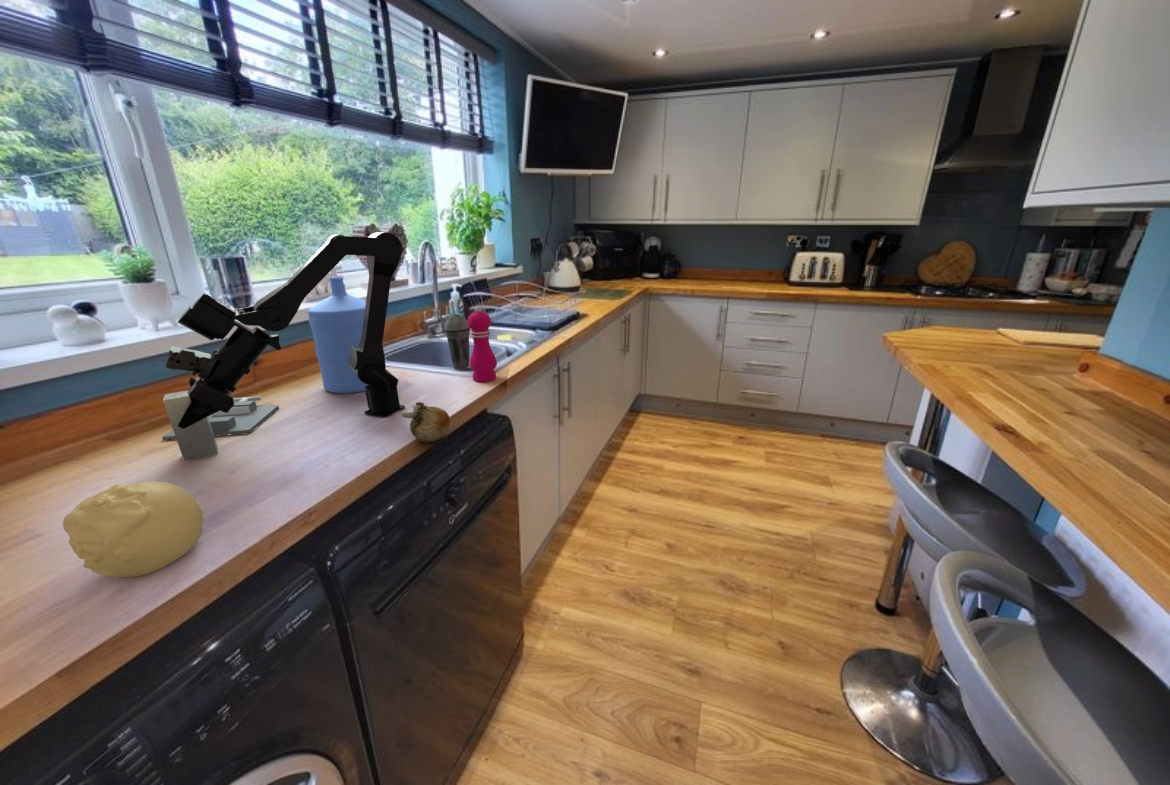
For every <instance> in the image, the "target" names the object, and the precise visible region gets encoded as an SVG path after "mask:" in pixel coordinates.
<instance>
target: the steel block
mask: <svg viewBox="0 0 1170 785" xmlns="http://www.w3.org/2000/svg"><path fill="white" fill-rule="evenodd" d="M162 401H163V402H162V403H163V405H164V407H165V410H166V413H167V417H168V418H169V422H170V425H171V428H172V430H173V431H174V434H175V437H176V439H175V440H176V443H177V445H178V448H179V451H180V454H181V456H182V457H181V458H182V459H183V462H184V461H185V462H188V460H189V461H193V460H197V459H201V458H205V456H206V457H210V456H214V455H217V454H219V448H218V447H217V446H218V443H217V440H216V436H214V433H213V430H212V427H211V424H210V421H209V418H208V417H206V418H204V419H202V420H200V421H198V422H196V423H195V424H193V425H191V426H189V427H187V428H185V429H182V428H180V427H178V424H179V422H180V420H181V418H182V416H183V414H184V413H185V411H186V409H187V407H188V405H189V403H190V401H191V400H190V397H189V395H188V390H183V391H176V392H171V393H165V394H164V395H163V399H162ZM213 454H214V455H213ZM209 455H210V456H209Z"/></svg>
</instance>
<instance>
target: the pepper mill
mask: <svg viewBox="0 0 1170 785" xmlns="http://www.w3.org/2000/svg"><path fill="white" fill-rule="evenodd" d="M482 310H483V309H482V307H481V306H480V305H476V306H475V307H474V312H472V313H470V314H469V316H468V317H467V321H468V326H469V327H470V336H471V337H472V340H473V345H472V346H473V347H472V348H473V349H472V352H471V355H470V356H469V368H470V369H471V370H472V371H473V373H472V380H473V381H474V382H475V381H476V383H489V382H492V381H495V380H496V379H497V372H496V371H495V369H496V367H497V365H498V362H497V358H496V355H495V353H494V352H493V350H492V347H491V344H490V340H489V339H490V336H491V333H490V332H491V330H490V327H491V325H492V320H491V316H490V315H489V314H488V313H487V312H484V311H482Z"/></svg>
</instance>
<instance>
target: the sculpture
mask: <svg viewBox="0 0 1170 785" xmlns="http://www.w3.org/2000/svg"><path fill="white" fill-rule="evenodd" d="M201 509H202V508H201V507H200V504H199V503H198V501H197V500H196V498H195V497H193V495H191V493H190V492H189V491H187V490H186V489H184V488H182V487H181V486H178V485H177V484H174V483H173V484H172V483H169V482H164V481H143V482H136V483H132V484H120V483H116V484H113V485H112V486H110V487H109V488H107V489H105V490H101V491H99V492H98V493H96V494H94V495H92V496H89V497H87V498H85V499H83V500H81V502H79V503H78V504H77V505H76V506H75V507H74V508H73V510H72V511H70V512H68V513H67V514H65V516H64V517H63V520H62V526H63V530H64V532H66V533H67V535H68V536H69V539H68V544H69V545H70V547H71V549H72V551H73V552H74V554H75V555H76V556H77V557H78V558H79V559H81V560H84V562H83V567H84V568H85V569H89V570H90V571H91V572H93V573H96V574H97V575H101V576H105V577H106V578H113V579H114V578H137V577H141V575H142V576H145V574H146V575H148V573H149V574H151V572H152V573H153V572H157V571H158V570H159V571H160V570H161V569H162V568H165V567H167V566H169V565H170V564H172V563H173V562H175V561H177V560H178V559H179V558H181V557H183V555H185V554H186V553H188V552H189V551H190V550H191V549H192V548H193V547H194V546H195V544H197V542H198V541H199V539H200V536H201V534H202V531H203V527H204V526H203V525H204V519H203V518H204V517H203V512H202V510H201ZM136 576H137V577H136Z"/></svg>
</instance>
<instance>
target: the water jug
mask: <svg viewBox="0 0 1170 785" xmlns="http://www.w3.org/2000/svg"><path fill="white" fill-rule="evenodd" d="M328 280H329V282H330V289H331V295H330V296H328V297H327V298H325V299H322V300H321V301H319V302H318V303H316V304H315V305H313V306H311V307H310V308H308V310H307V315H308V323H309V326H310V329H311V334H312V338H313V342H314V347H315V355H316V358H317V360H318V364H319V365H318V366H319V369H320V374H321V381H322V385H323V388H324V389H325V390H326V391H328V392H330V393H334V394H351V393H352V394H353V393H361V392H366V388H365V386H367V385H368V384H365V383H363V382H361V381H360V379H359V378H358V377H357V376H356V375H355V374H354V373H353V372H352V370H351V366H350V365H349V364H348V361H349V359H350V346H355V347H357V346H358V344H359V342H360V340H361V337H362V329H363V321H364V313H365V305H366V300H364V299H362V298H359V297H355V296H353V295H351V294H349V293H348V292H347V291H346V288H345V287H346V285H345V283H344V277H343V276H342V277H341V276H340V277H339V276H338V277H337V276H336V277H329V278H328Z"/></svg>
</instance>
